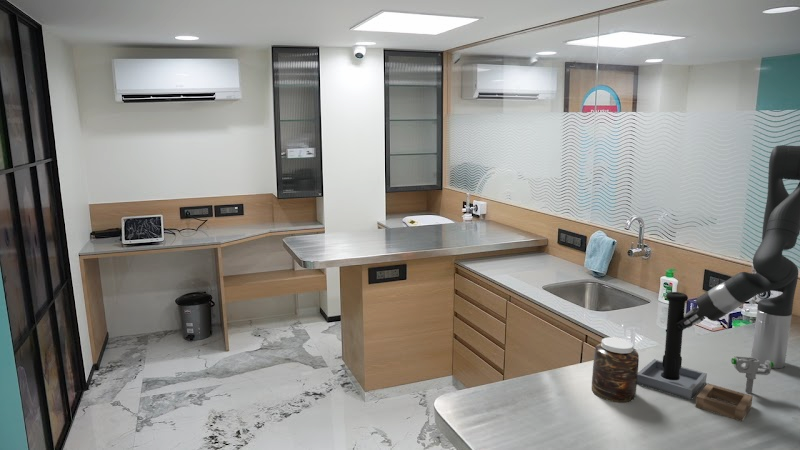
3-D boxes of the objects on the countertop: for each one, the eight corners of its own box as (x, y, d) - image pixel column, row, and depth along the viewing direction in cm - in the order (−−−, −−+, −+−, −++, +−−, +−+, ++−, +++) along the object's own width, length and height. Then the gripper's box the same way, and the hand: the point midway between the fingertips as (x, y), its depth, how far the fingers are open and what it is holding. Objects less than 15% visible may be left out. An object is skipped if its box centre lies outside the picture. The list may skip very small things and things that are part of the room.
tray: (653, 368, 176) (654, 359, 175) (705, 383, 166) (706, 373, 165) (635, 383, 165) (636, 374, 164) (690, 400, 155) (691, 390, 154)
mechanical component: (770, 396, 158) (775, 363, 156) (730, 392, 160) (734, 359, 158) (766, 391, 161) (770, 359, 159) (727, 388, 163) (731, 355, 161)
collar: (706, 393, 159) (707, 383, 159) (751, 406, 152) (752, 395, 151) (695, 406, 151) (696, 396, 151) (742, 421, 144) (743, 410, 143)
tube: (689, 297, 156) (686, 292, 161) (667, 295, 158) (665, 290, 163) (682, 381, 160) (679, 374, 165) (661, 379, 162) (659, 371, 167)
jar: (636, 388, 162) (640, 339, 159) (634, 406, 151) (639, 354, 149) (593, 380, 166) (597, 332, 164) (589, 397, 156) (592, 346, 153)
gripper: (716, 285, 160) (667, 316, 170) (703, 294, 150) (651, 327, 160) (735, 306, 157) (684, 337, 168) (723, 318, 148) (669, 349, 158)
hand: (668, 332), depth 164 cm, fingers closed on tube, 1 cm apart
